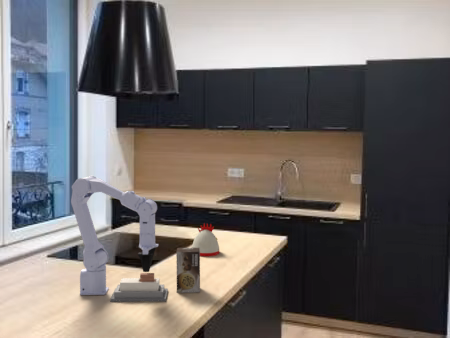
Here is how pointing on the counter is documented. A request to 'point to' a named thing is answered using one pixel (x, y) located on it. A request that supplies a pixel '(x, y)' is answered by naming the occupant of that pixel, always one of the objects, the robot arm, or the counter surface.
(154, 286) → the white hollow block
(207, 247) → the kitchen timer
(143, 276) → the terracotta flat slab
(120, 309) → the counter surface
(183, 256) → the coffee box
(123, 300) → the cradle
